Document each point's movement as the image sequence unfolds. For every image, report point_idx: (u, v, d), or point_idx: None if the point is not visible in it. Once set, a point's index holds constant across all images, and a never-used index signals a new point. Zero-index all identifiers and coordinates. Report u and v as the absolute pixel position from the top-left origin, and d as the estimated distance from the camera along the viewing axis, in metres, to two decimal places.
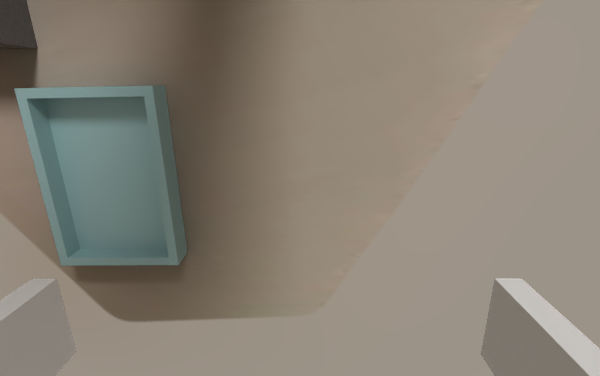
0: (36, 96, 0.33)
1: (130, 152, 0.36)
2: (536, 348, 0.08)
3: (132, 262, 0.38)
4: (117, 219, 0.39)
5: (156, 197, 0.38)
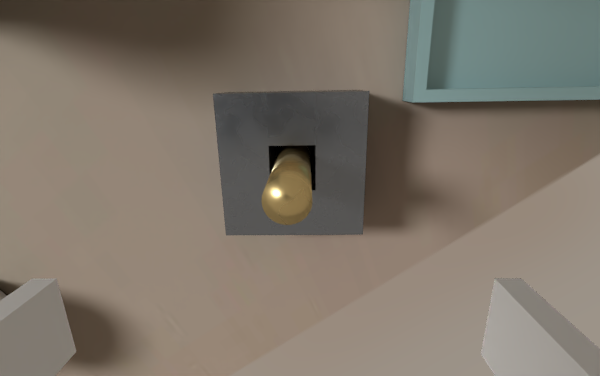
0: (424, 75, 0.26)
1: None
2: (536, 348, 0.08)
3: None
4: (596, 17, 0.27)
5: None
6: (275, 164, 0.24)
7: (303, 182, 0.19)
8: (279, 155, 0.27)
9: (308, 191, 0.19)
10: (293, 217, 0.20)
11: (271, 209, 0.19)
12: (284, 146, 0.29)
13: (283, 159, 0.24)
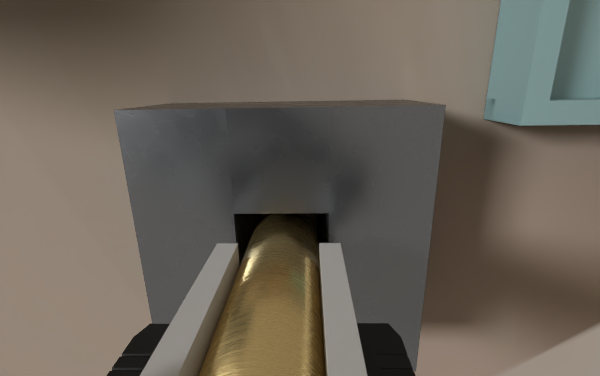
0: (549, 71, 0.13)
1: None
2: (321, 291, 0.10)
3: None
4: None
5: None
6: (241, 270, 0.11)
7: None
8: (256, 231, 0.13)
9: None
10: None
11: None
12: None
13: (258, 262, 0.10)
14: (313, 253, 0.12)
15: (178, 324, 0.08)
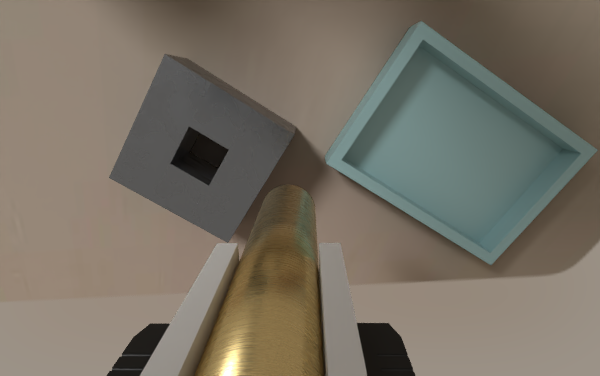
0: (346, 148, 0.30)
1: (442, 114, 0.31)
2: (321, 291, 0.10)
3: (550, 195, 0.31)
4: (486, 183, 0.33)
5: (500, 125, 0.31)
6: (244, 263, 0.11)
7: None
8: (259, 226, 0.13)
9: None
10: None
11: None
12: (272, 197, 0.16)
13: (263, 257, 0.10)
14: (314, 254, 0.12)
15: (178, 324, 0.08)
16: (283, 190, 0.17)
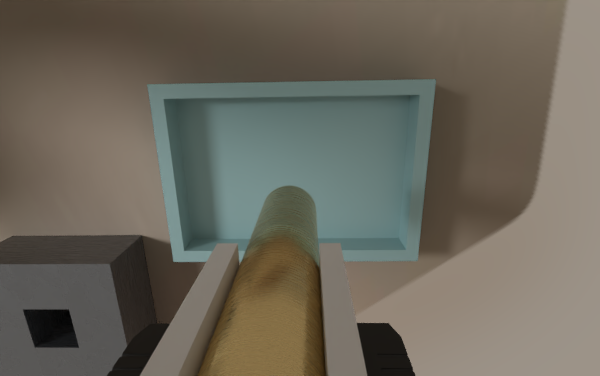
0: (179, 238, 0.26)
1: (256, 143, 0.26)
2: (321, 291, 0.10)
3: (423, 156, 0.24)
4: (356, 178, 0.27)
5: (323, 114, 0.25)
6: (245, 264, 0.11)
7: None
8: (260, 227, 0.13)
9: None
10: None
11: None
12: (273, 198, 0.16)
13: (264, 258, 0.10)
14: (316, 256, 0.12)
15: (178, 324, 0.08)
16: (284, 191, 0.17)
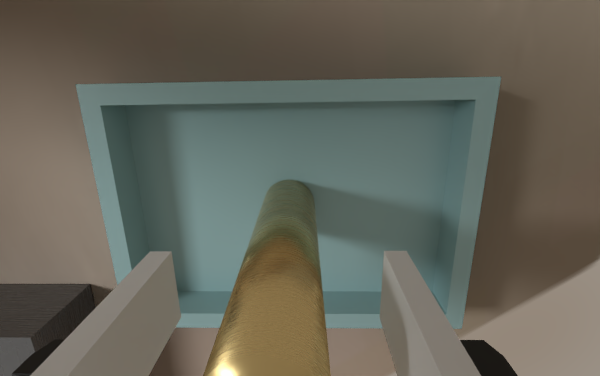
0: None
1: (238, 165, 0.19)
2: (398, 303, 0.09)
3: (476, 188, 0.17)
4: (376, 213, 0.19)
5: (331, 126, 0.18)
6: (252, 249, 0.12)
7: (316, 372, 0.07)
8: (264, 216, 0.14)
9: None
10: None
11: None
12: (275, 191, 0.17)
13: (270, 243, 0.11)
14: (315, 242, 0.13)
15: (71, 342, 0.07)
16: (284, 184, 0.18)
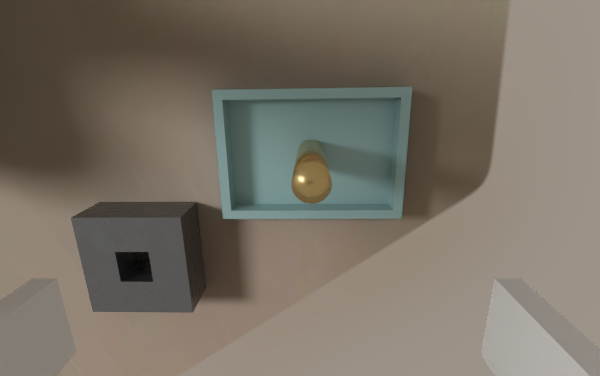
0: (228, 201, 0.36)
1: (284, 132, 0.36)
2: (536, 349, 0.08)
3: (404, 141, 0.34)
4: (356, 158, 0.37)
5: (333, 111, 0.35)
6: (300, 156, 0.29)
7: (327, 171, 0.24)
8: (301, 149, 0.32)
9: (329, 178, 0.24)
10: (314, 198, 0.24)
11: (298, 189, 0.24)
12: (304, 143, 0.34)
13: (307, 152, 0.29)
14: (325, 158, 0.30)
15: None
16: (308, 140, 0.35)
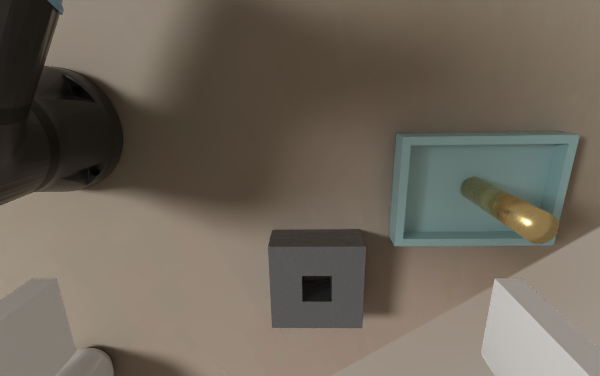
0: (401, 231, 0.41)
1: (451, 170, 0.41)
2: (536, 349, 0.08)
3: (565, 180, 0.39)
4: (512, 192, 0.42)
5: (497, 152, 0.40)
6: (499, 198, 0.34)
7: (555, 217, 0.29)
8: (486, 189, 0.37)
9: (557, 224, 0.29)
10: (541, 239, 0.29)
11: (529, 232, 0.29)
12: (475, 181, 0.39)
13: (507, 195, 0.34)
14: None
15: None
16: (476, 178, 0.40)
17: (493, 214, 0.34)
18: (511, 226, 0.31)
